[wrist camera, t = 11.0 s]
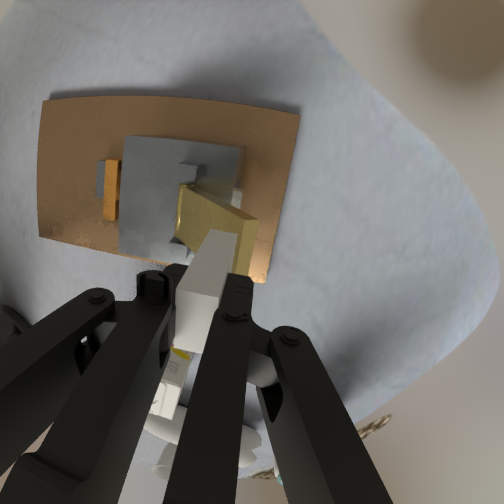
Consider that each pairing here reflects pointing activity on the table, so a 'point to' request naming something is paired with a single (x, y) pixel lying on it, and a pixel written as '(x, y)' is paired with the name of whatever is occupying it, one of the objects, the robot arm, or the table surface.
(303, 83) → the table surface
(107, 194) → the lynch pin
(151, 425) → the bottle
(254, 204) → the block
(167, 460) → the teacup
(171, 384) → the ink box
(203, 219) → the tab
